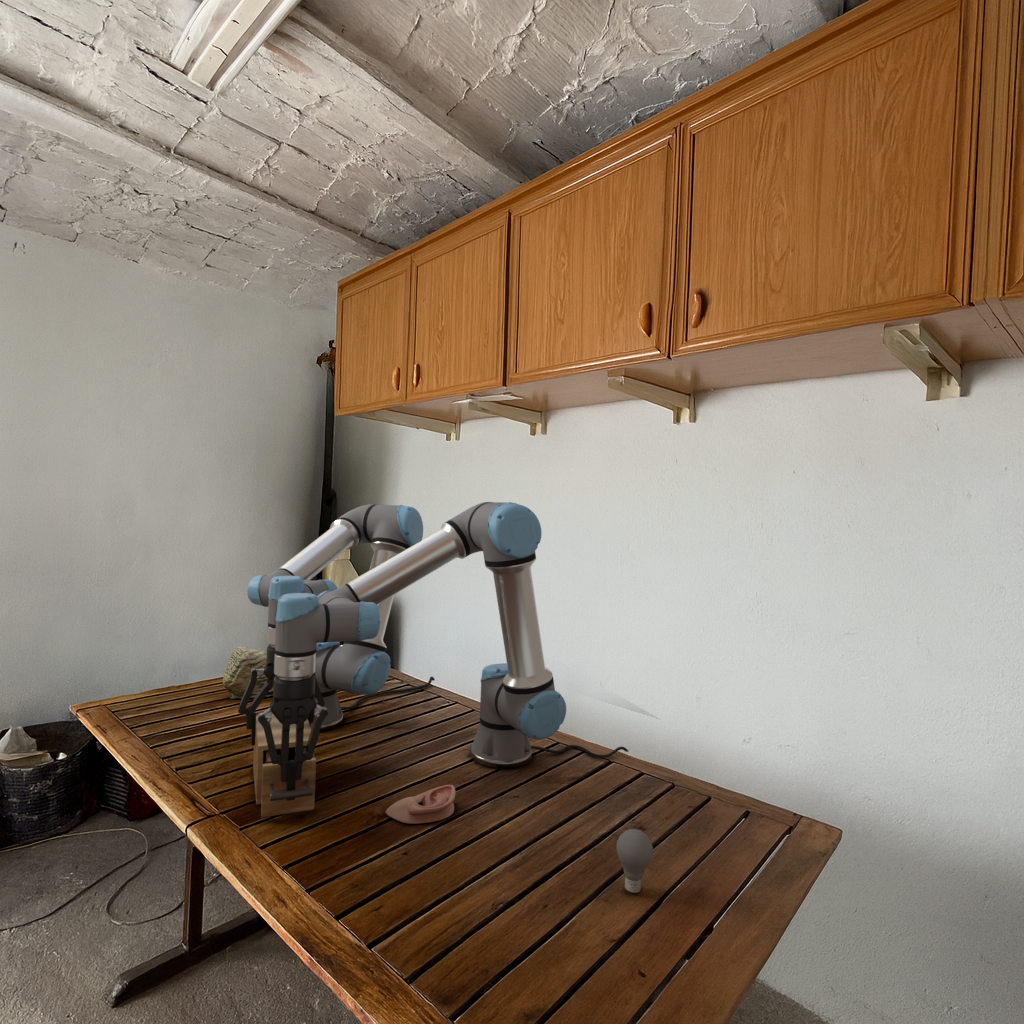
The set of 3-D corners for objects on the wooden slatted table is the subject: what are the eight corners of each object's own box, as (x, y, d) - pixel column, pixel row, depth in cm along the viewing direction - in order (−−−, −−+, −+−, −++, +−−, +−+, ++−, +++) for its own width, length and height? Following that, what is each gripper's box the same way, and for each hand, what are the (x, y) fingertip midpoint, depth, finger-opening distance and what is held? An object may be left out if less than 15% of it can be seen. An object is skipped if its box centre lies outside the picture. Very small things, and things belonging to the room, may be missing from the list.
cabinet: (312, 796, 134) (314, 739, 133) (256, 804, 129) (258, 746, 129) (303, 761, 151) (305, 710, 151) (253, 767, 146) (254, 715, 146)
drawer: (318, 823, 121) (319, 771, 121) (262, 832, 117) (264, 779, 117) (304, 773, 142) (306, 728, 142) (257, 779, 138) (259, 733, 138)
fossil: (218, 695, 195) (220, 647, 195) (278, 685, 208) (279, 640, 207) (228, 703, 189) (230, 653, 188) (289, 692, 201) (290, 645, 201)
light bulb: (610, 879, 108) (613, 822, 108) (644, 879, 109) (647, 822, 109) (619, 902, 102) (622, 840, 102) (655, 901, 103) (658, 840, 103)
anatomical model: (379, 799, 125) (401, 775, 136) (379, 819, 125) (400, 793, 136) (444, 809, 122) (460, 783, 134) (443, 829, 122) (460, 802, 134)
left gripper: (228, 651, 136) (224, 752, 136) (340, 645, 145) (336, 740, 146) (228, 643, 143) (224, 739, 143) (335, 638, 152) (331, 728, 153)
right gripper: (258, 683, 115) (254, 811, 115) (332, 678, 120) (327, 800, 121) (257, 672, 122) (252, 793, 122) (327, 667, 127) (322, 783, 128)
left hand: (280, 740), depth 144 cm, fingers closed on cabinet, 11 cm apart
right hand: (290, 796), depth 122 cm, fingers closed
